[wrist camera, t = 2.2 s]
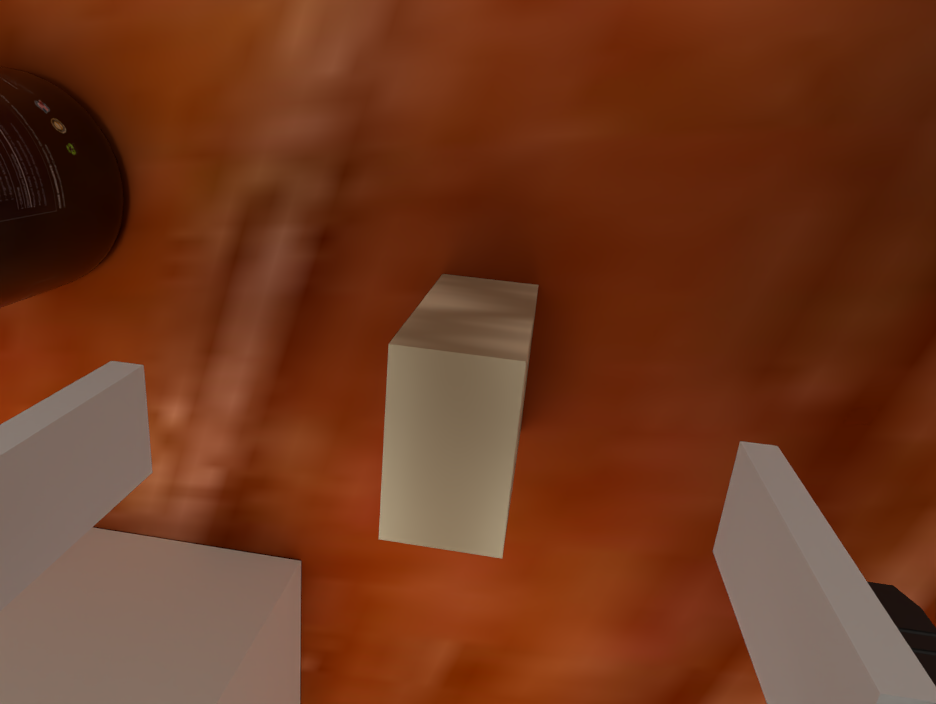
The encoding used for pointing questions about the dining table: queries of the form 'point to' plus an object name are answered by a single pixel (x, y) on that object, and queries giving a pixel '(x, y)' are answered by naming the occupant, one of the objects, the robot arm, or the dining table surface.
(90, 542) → the box
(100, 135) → the supplement bottle
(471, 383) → the beige rectangular block
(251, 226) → the dining table surface
